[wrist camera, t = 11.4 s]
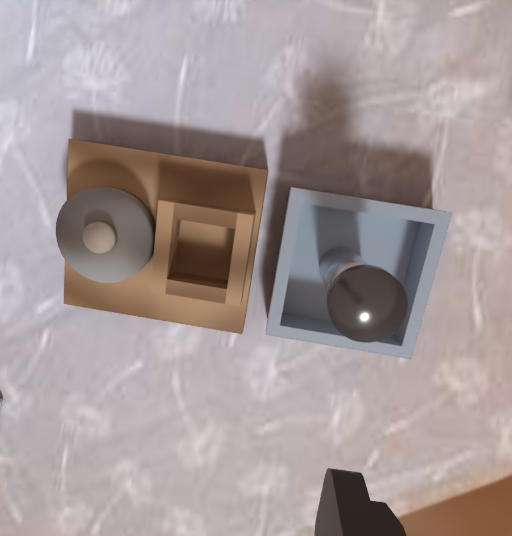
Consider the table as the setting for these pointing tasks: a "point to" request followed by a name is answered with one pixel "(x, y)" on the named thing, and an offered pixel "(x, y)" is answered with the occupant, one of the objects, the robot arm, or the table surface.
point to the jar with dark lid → (362, 296)
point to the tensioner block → (160, 235)
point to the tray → (368, 248)
